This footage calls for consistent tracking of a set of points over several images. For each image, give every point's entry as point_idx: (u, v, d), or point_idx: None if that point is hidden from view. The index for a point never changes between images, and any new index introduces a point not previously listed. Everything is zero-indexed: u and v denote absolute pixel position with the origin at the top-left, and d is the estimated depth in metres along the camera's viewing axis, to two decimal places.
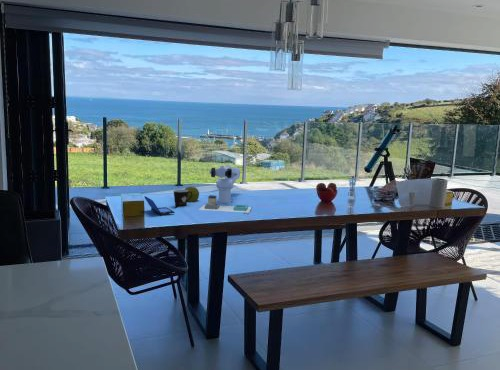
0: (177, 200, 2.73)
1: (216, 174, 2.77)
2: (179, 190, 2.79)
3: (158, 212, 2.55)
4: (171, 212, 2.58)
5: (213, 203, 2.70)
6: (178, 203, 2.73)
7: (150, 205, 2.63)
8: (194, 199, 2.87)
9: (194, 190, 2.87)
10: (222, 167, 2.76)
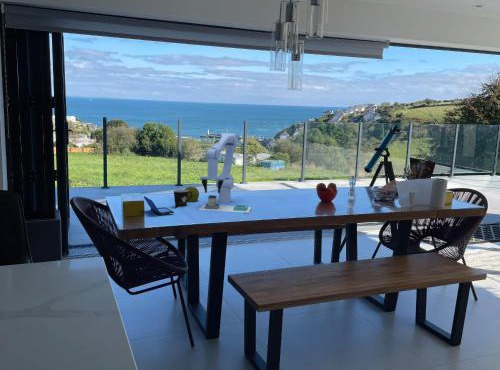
0: (177, 200, 2.73)
1: None
2: (179, 190, 2.79)
3: (157, 212, 2.55)
4: (170, 212, 2.58)
5: (213, 203, 2.70)
6: (178, 203, 2.73)
7: (149, 205, 2.63)
8: (194, 199, 2.87)
9: (194, 190, 2.87)
10: None
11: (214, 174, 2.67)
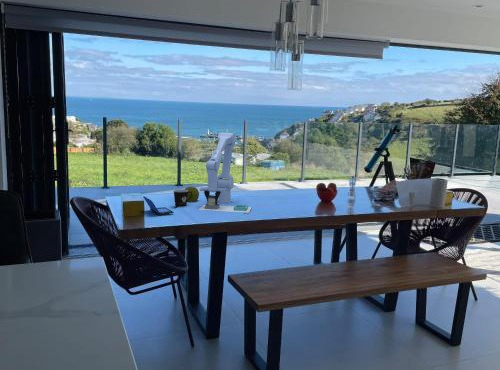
0: (177, 200, 2.73)
1: None
2: (179, 190, 2.79)
3: (157, 212, 2.55)
4: (170, 212, 2.57)
5: (213, 203, 2.70)
6: (178, 203, 2.73)
7: (149, 205, 2.62)
8: (194, 199, 2.87)
9: (194, 190, 2.87)
10: (211, 190, 2.68)
11: (214, 185, 2.68)
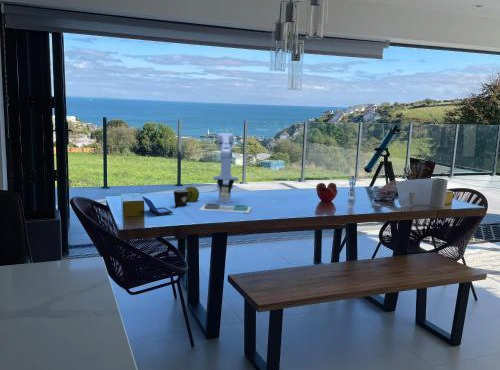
0: (177, 200, 2.73)
1: None
2: (179, 190, 2.79)
3: (156, 212, 2.55)
4: (169, 212, 2.57)
5: (226, 192, 2.68)
6: (178, 203, 2.73)
7: (148, 205, 2.62)
8: (194, 199, 2.87)
9: (194, 190, 2.87)
10: (225, 179, 2.66)
11: (227, 174, 2.66)
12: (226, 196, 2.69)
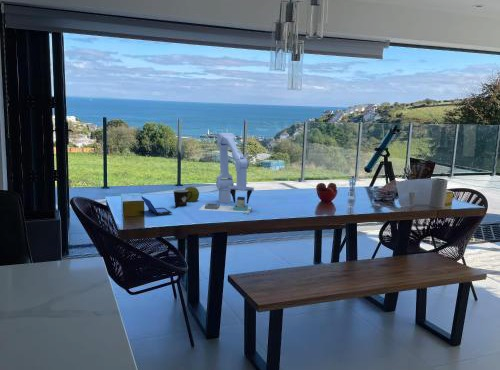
0: (177, 200, 2.73)
1: None
2: (179, 190, 2.79)
3: (155, 212, 2.55)
4: (168, 212, 2.57)
5: (242, 205, 2.68)
6: (178, 203, 2.73)
7: (147, 205, 2.62)
8: (194, 199, 2.87)
9: (194, 190, 2.87)
10: None
11: (243, 184, 2.66)
12: None
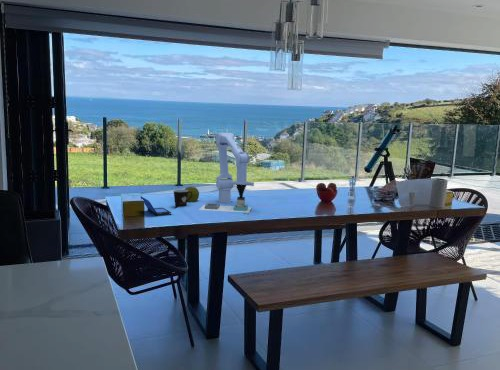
0: (177, 200, 2.73)
1: None
2: (179, 190, 2.79)
3: (154, 212, 2.54)
4: (167, 212, 2.57)
5: (242, 205, 2.68)
6: (178, 203, 2.73)
7: (146, 205, 2.62)
8: (194, 199, 2.87)
9: (194, 190, 2.87)
10: (241, 184, 2.65)
11: (243, 179, 2.65)
12: None
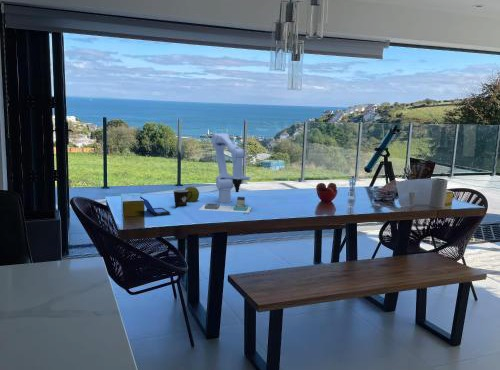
0: (177, 200, 2.73)
1: None
2: (179, 190, 2.79)
3: (153, 212, 2.54)
4: (167, 212, 2.57)
5: (242, 205, 2.68)
6: (178, 203, 2.73)
7: (145, 205, 2.61)
8: (194, 199, 2.87)
9: (194, 190, 2.87)
10: (237, 178, 2.69)
11: (239, 173, 2.69)
12: None
